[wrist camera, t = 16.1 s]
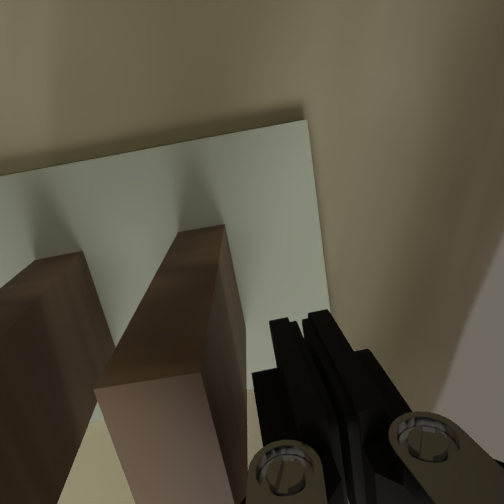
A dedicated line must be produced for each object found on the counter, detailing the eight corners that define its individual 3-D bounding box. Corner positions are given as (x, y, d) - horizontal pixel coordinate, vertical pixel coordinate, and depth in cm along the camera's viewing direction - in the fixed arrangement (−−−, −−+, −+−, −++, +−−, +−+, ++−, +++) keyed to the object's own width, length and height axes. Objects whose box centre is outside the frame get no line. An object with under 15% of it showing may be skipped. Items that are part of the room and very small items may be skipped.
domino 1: (73, 361, 18) (-75, 624, 9) (34, 259, 16) (-200, 451, 7) (117, 352, 18) (17, 604, 9) (82, 250, 17) (-86, 427, 7)
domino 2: (203, 334, 18) (161, 570, 9) (178, 231, 17) (92, 389, 7) (245, 327, 18) (248, 557, 9) (224, 223, 17) (200, 371, 7)
